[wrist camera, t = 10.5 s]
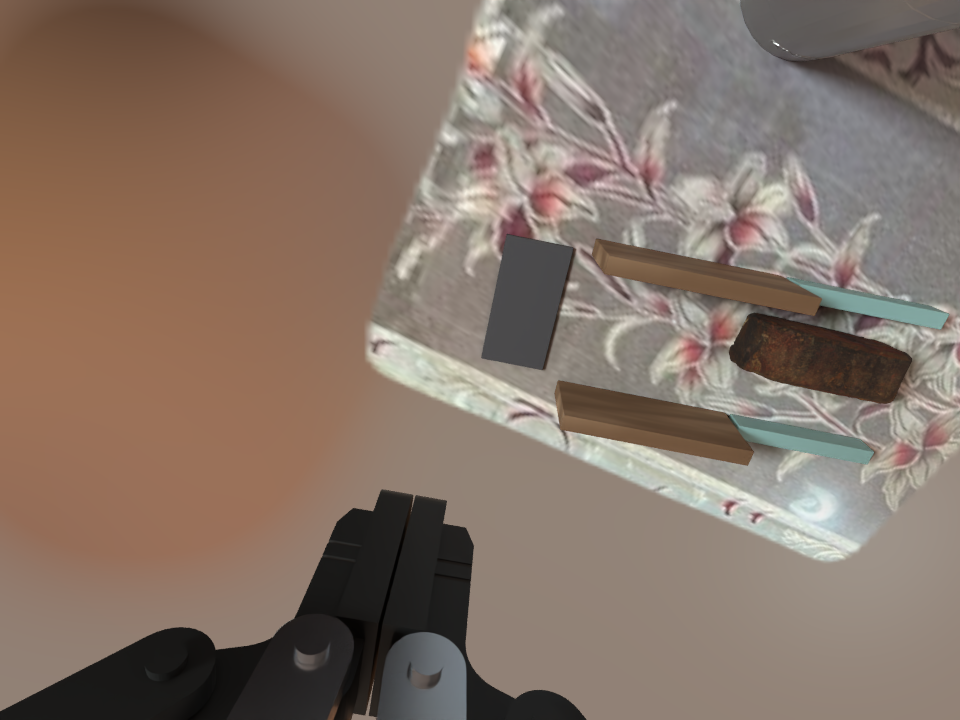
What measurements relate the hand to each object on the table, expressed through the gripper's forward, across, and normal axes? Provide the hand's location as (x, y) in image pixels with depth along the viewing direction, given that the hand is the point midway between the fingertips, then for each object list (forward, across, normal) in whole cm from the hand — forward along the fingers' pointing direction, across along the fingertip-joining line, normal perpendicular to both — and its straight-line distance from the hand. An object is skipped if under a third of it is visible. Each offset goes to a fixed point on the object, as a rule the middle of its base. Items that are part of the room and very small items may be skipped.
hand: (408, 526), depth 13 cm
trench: (+32, -15, +4) cm, 35 cm away
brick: (+32, -23, +5) cm, 40 cm away
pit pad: (+32, -4, +4) cm, 32 cm away
